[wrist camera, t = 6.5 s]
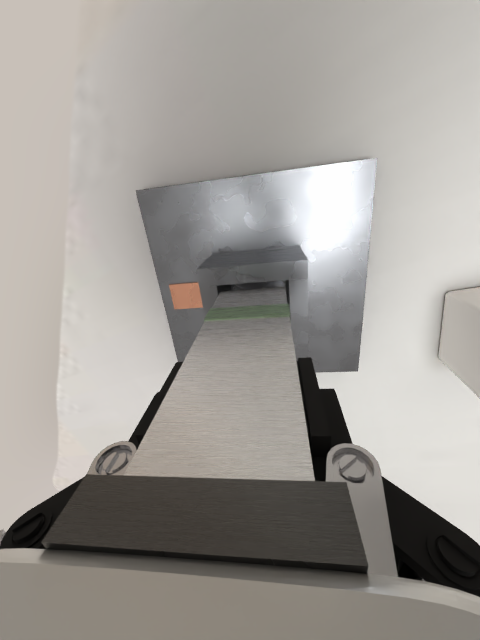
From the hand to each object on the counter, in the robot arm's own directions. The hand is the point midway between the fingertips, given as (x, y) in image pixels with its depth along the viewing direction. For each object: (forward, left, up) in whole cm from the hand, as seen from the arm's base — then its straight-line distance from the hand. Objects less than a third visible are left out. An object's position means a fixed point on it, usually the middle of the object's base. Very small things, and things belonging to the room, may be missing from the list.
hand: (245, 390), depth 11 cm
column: (0, 0, -7) cm, 7 cm away
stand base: (0, 0, -15) cm, 15 cm away
